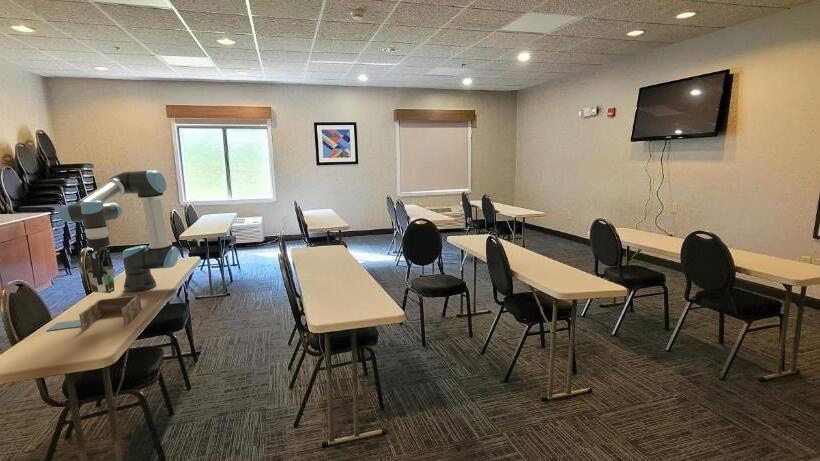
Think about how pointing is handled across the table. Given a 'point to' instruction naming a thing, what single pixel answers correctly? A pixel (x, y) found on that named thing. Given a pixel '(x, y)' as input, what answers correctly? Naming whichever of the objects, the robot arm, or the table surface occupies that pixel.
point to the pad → (65, 325)
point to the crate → (111, 309)
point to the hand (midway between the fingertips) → (106, 288)
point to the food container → (108, 276)
